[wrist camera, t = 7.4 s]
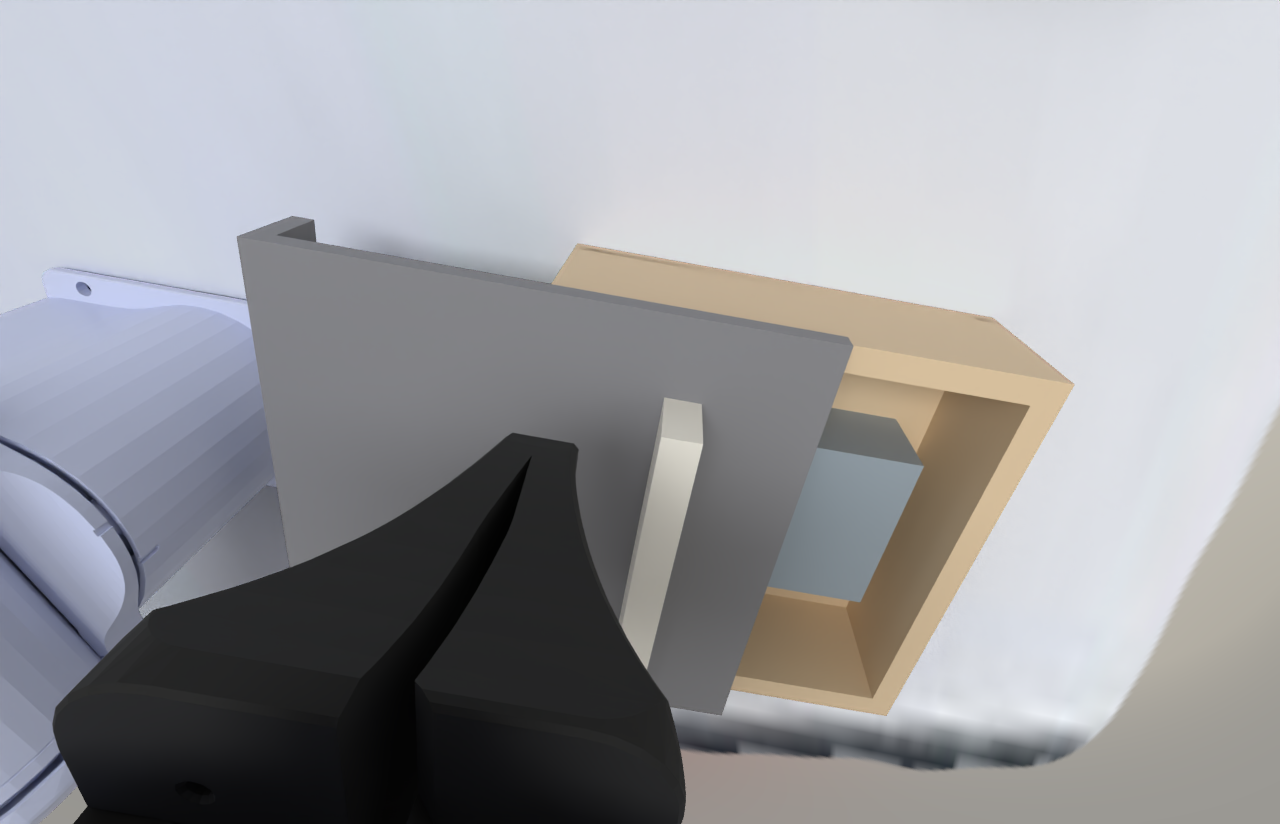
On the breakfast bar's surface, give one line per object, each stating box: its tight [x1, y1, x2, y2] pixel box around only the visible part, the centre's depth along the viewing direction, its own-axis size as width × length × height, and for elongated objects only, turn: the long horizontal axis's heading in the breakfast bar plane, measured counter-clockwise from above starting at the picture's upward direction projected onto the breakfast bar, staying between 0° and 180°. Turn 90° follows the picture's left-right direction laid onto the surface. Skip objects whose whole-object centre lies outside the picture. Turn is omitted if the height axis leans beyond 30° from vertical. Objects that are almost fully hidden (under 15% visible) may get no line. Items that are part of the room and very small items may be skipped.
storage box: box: [552, 243, 1074, 716], centre depth 22 cm, size 14×14×5 cm
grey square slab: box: [237, 216, 853, 715], centre depth 19 cm, size 15×15×4 cm
